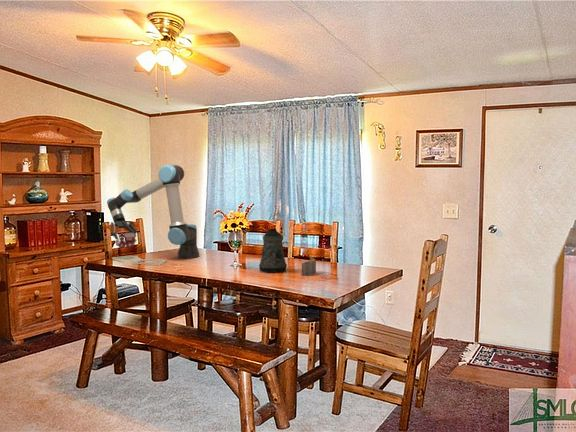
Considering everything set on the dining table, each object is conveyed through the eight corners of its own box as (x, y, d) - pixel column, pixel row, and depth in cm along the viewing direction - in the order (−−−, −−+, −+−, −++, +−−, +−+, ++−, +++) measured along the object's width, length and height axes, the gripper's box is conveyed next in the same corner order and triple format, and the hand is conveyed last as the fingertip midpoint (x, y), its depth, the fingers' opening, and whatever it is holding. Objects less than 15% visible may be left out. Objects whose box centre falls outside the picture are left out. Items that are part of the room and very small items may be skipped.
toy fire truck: (116, 247, 342) (116, 231, 341) (135, 246, 345) (135, 231, 344) (115, 248, 335) (115, 232, 335) (135, 248, 338) (134, 232, 337)
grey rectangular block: (311, 273, 299) (311, 256, 298) (315, 273, 297) (316, 257, 297) (301, 276, 290) (301, 259, 289) (305, 276, 288) (305, 259, 287)
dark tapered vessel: (273, 274, 292) (273, 231, 291) (250, 270, 305) (250, 229, 303) (292, 270, 305) (292, 229, 303) (268, 266, 317) (268, 227, 316)
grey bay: (166, 262, 333) (166, 259, 333) (159, 265, 320) (159, 263, 320) (139, 261, 334) (139, 259, 334) (132, 265, 321) (132, 262, 321)
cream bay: (112, 259, 343) (112, 257, 343) (130, 257, 352) (130, 255, 352) (122, 262, 330) (122, 260, 329) (141, 260, 338) (141, 258, 338)
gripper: (132, 219, 358) (142, 244, 347) (100, 221, 343) (109, 246, 332) (135, 212, 354) (145, 237, 343) (102, 214, 339) (112, 239, 328)
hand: (127, 241), depth 338 cm, fingers closed on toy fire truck, 10 cm apart
